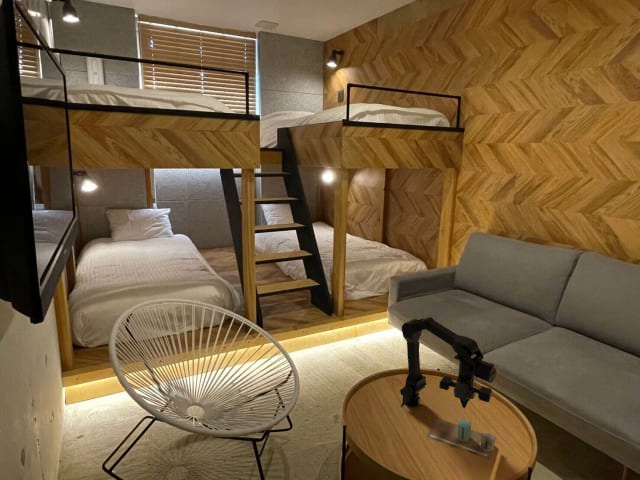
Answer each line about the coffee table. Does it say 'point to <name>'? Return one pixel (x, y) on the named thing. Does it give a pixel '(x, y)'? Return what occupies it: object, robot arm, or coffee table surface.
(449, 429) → the board
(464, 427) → the sage green box
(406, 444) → the coffee table surface
